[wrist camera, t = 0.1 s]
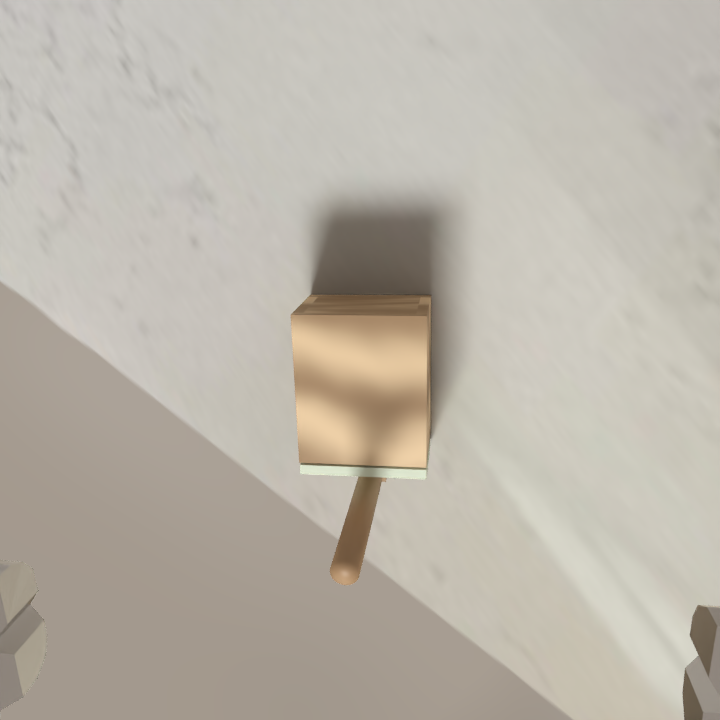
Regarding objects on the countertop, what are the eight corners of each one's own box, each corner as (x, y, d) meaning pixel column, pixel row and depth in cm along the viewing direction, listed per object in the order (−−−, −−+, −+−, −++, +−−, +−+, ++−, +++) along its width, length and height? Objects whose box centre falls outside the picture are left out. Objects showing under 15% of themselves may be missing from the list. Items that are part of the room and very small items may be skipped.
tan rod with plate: (310, 309, 57) (257, 368, 42) (430, 310, 56) (419, 371, 41) (318, 475, 62) (273, 580, 47) (430, 480, 60) (419, 589, 46)
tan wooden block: (310, 294, 57) (290, 314, 51) (431, 295, 56) (426, 316, 49) (317, 427, 61) (299, 462, 54) (430, 431, 59) (426, 467, 53)
